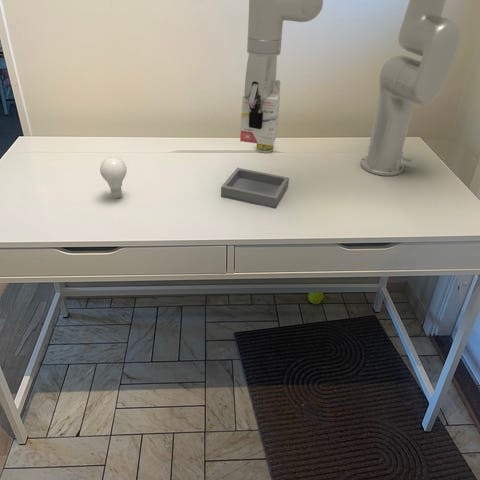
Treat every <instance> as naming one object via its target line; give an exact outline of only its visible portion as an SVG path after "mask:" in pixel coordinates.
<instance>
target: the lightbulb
mask: <svg viewBox="0 0 480 480" xmlns="http://www.w3.org/2000/svg"><path fill="white" fill-rule="evenodd" d="M127 171H128V169H127V166H126V164H125V162H124V161H123V160H122V159H120V158H119V157H116V156H110V157H107V158H105V159H104V160H103V161H102V162H101V163H100V167H99V172H100V175H101V177H102V178H103V179H104V180H105V181H106V183H107V185H108V186H109V187H108V188H110V195H111V197H112V198H114V199H118V198H121V197H122V196H123V192H122V186H123V181H124V179H125V178H126V175H127Z"/></svg>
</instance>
